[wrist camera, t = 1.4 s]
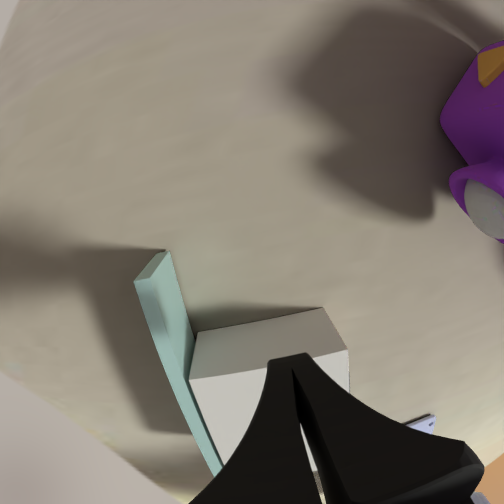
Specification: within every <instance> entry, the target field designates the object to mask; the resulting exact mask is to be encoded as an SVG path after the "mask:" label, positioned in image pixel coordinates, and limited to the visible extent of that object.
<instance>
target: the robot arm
mask: <svg viewBox="0 0 504 504" xmlns="http://www.w3.org/2000/svg"><path fill="white" fill-rule="evenodd" d="M435 421H436V417H435V415H430V416H427V417H425V418H423V419H420V420H418V421H415V422H412V423H410V424H407V425H404V424H401V423H399V422H397V421H394V420H392V419H390V418H388V417H386V416H384V415H382V414H380V413H378V412H377V411H375V410H373V409H372V408H370V407H368V406H367V405H365V404H364V403H362V402H361V401H359V400H358V399H356V398H355V397H354V396H352V395H351V394H350V393H348V392H347V391H346V390H345V389H343V388H342V387H341V386H340V385H339V384H337V383H336V382H335V381H334V380H333V379H332V378H331V377H330V376H329V375H327V374H326V373H325V372H324V371H323V370H322V369H321V368H320V366H319V365H318V364H317V363H316V362H315V361H314V360H313V359H312V357H311V356H310V355H309V354H308V353H306V352H304V353H299V354H295V355H290V356H285V357H281V358H276V359H270V360H269V361H268V363H267V373H266V379H265V383H264V387H263V390H262V394H261V397H260V400H259V403H258V405H257V408H256V410H255V413H254V415H253V418H252V420H251V422H250V424H249V426H248V428H247V430H246V432H245V434H244V436H243V438H242V440H241V441H240V443H239V445H238V446H237V448H236V449H235V451H234V452H233V454H232V455H231V457H230V458H229V460H228V461H227V463H226V464H225V465H224V466H223V468H222V469H221V470H220V471H219V473H218V474H217V475H216V476H215V477H214V478H213V480H212V481H211V482H210V483H209V484H208V485H207V486H206V487H205V488H204V490H203V491H201V492H200V493H199V494H198V495H197V496H196V497H195V498H194V499H193V500H192V501H191V502H190V503H189V504H322V502H321V499H320V495H319V492H318V489H317V485H316V482H315V479H314V475H313V472H312V468H311V465H310V461H309V458H308V454H307V451H306V447H305V444H304V440H303V436H302V433H301V426H302V429H303V432H304V435H305V437H306V440H307V443H308V446H309V448H310V451H311V454H312V457H313V459H314V462H315V465H316V468H317V470H318V473H319V477H320V480H321V483H322V488H323V492H324V496H325V500H326V504H490V503H489V501H488V500H487V498H486V497H485V496H484V495H483V494H482V493H481V492H475V491H474V490H475V489H476V487H477V486H478V484H479V482H480V481H481V478H482V476H483V474H484V465H483V464H482V462H481V461H480V459H479V458H478V457H477V455H476V454H475V453H474V452H473V450H472V449H471V448H470V447H469V446H468V445H467V444H466V443H465V442H464V441H460V440H455V439H450V438H445V437H441V436H436V435H432V432H433V429H434V425H435ZM300 423H301V424H300Z"/></svg>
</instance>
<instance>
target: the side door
mask: <svg viewBox="0 0 504 504" xmlns="http://www.w3.org/2000/svg"><path fill="white" fill-rule="evenodd" d="M134 285H135V288H136V291H137V294H138V297H139V300H140V303H141V306H142V309H143V312H144V315H145V318H146V321H147V324H148V327H149V330H150V332H151V335H152V338H153V341H154V343H155V346H156V349H157V351H158V354H159V357H160V359H161V362H162V364H163V367H164V369H165V372H166V374H167V377H168V379H169V382H170V384H171V387H172V389H173V391H174V394H175V396H176V398H177V401H178V403H179V405H180V408H181V410H182V412H183V414H184V417H185V419H186V421H187V423H188V425H189V428H190V430H191V432H192V434H193V436H194V438H195V440H196V442H197V444H198V446H199V448H200V450H201V453H202V455H203V457H204V458H205V460H206V462H207V464H208V466H209V468H210V470H211V472H212V474H213V476H214V477H215V476H216V475H217V474H218V473H219V471H220V470H221V469H222V468H223V466H224V464H223V462H222V459H221V457H220V455H219V453H218V450H217V448H216V446H215V444H214V441H213V439H212V437H211V434H210V432H209V430H208V427H207V425H206V423H205V420H204V418H203V415H202V413H201V410H200V408H199V405H198V403H197V400H196V398H195V395H194V393H193V390H192V387H191V385H190V382H189V375H190V370H191V365H192V360H193V354H194V349H195V344H196V342H195V339H194V336H193V332H192V329H191V326H190V323H189V319H188V316H187V313H186V309H185V306H184V302H183V299H182V295H181V292H180V288H179V285H178V281H177V278H176V274H175V270H174V266H173V263H172V259H171V255H170V251H166V252H161V253H156V255H155V256H154V257H153V258H152V259H151V261H150V262H149V263H148V264H147V265H146V267H145V268H144V269H143V270H142V271H141V273H140V274H139V275H138V276H137V278H136V279H135V280H134Z"/></svg>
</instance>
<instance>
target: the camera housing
mask: <svg viewBox="0 0 504 504" xmlns="http://www.w3.org/2000/svg"><path fill="white" fill-rule="evenodd" d="M304 352H306V353H308V354H309V355H310V356H311V357H312V359H313V360H314V361H315V362H316V363H317V364H318V365H319V366H320V368H321V369H322V370H323V371H324V372H325V373H326V374H327V375H329V376H330V377H331V378H332V379H333V380H334V381H335V382H336V383H337V384H339V385H340V386H341V387H342V388H343V389H345V390H346V391H347V392H348V393H350V376H349V363H348V349H347V347H346V345H345V344H344V342H343V340H342V338H341V337H340V335H339V333H338V332H337V330H336V328H335V326H334V325H333V323H332V321H331V320H330V318H329V316H328V314H327V313H326V311H325V309H324V308H319V309H315V310H310V311H306V312H301V313H296V314H291V315H287V316H282V317H277V318H272V319H267V320H262V321H257V322H252V323H246V324H241V325H235V326H230V327H224V328H218V329H213V330H207V331H201V332H198V334H197V339H196V344H195V349H194V354H193V360H192V365H191V370H190V375H189V382H190V385H191V387H192V390H193V393H194V395H195V398H196V400H197V403H198V405H199V408H200V410H201V413H202V415H203V418H204V420H205V423H206V425H207V427H208V430H209V432H210V434H211V437H212V439H213V441H214V444H215V446H216V448H217V450H218V453H219V455H220V457H221V459H222V462H223V464H224V465H225V464H226V463H227V461H228V460H229V458H230V457H231V455H232V454H233V452H234V451H235V449H236V448H237V446H238V445H239V443H240V441H241V440H242V438H243V436H244V434H245V432H246V430H247V428H248V426H249V424H250V422H251V420H252V418H253V415H254V413H255V410H256V408H257V405H258V403H259V400H260V397H261V394H262V390H263V387H264V383H265V379H266V373H267V363H268V361H269V360H270V359H276V358H281V357H285V356H290V355H295V354H299V353H304ZM300 424H301V423H300ZM301 433H302V436H303V440H304V444H305V447H306V451H307V454H308V458H309V461H310V465H311V468H312V472H313V471H318V470H317V468H316V465H315V462H314V459H313V457H312V454H311V451H310V448H309V446H308V443H307V440H306V437H305V435H304V432H303V429H302V426H301Z"/></svg>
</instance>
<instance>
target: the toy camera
mask: <svg viewBox="0 0 504 504" xmlns="http://www.w3.org/2000/svg"><path fill="white" fill-rule="evenodd" d="M440 124H441V126H442V128H443V130H444V132H445V134H446V135H447V136H448V138H449V139H450V141H451V142H452V143H453V145H454V146H455V147H456V149H457V150H458V151H459V153H460V154H461V155H462V157H463V158H464V160H465V161H466V162H467V164H468V165H469V166H467V167H464V168H461V169H458V170H456V171H454V172H453V173H452V174H451V175H450V177H449V187H450V190H451V193H452V195H453V197H454V198H455V200H456V202H457V203H458V204H459V206H460V207H461V208H462V209H463V211H464V212H465V213H466V214H467V215H468V216H469V217H470V218H471V220H472V221H473V223H474V224H475V225H476V226H477V227H478V228H479V229H480V230H481V231H482V232H483V233H485V234H486V235H488V236H490V237H493V238H495V239H497V240H498V241H500V242H501V243H503V244H504V40H503V41H500V42H497V43H495V44H492V45H489V46H487V47H485V48H484V49H482V50H481V51H480V52H479V53H478V55H477V56H476V57H475V59H474V60H473V62H472V63H471V65H470V66H469V68H468V70H467V71H466V73H465V74H464V76H463V77H462V79H461V80H460V82H459V84H458V85H457V87H456V88H455V90H454V91H453V93H452V94H451V96H450V97H449V99H448V101H447V102H446V104H445V106H444V108H443V110H442V112H441V115H440Z"/></svg>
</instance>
